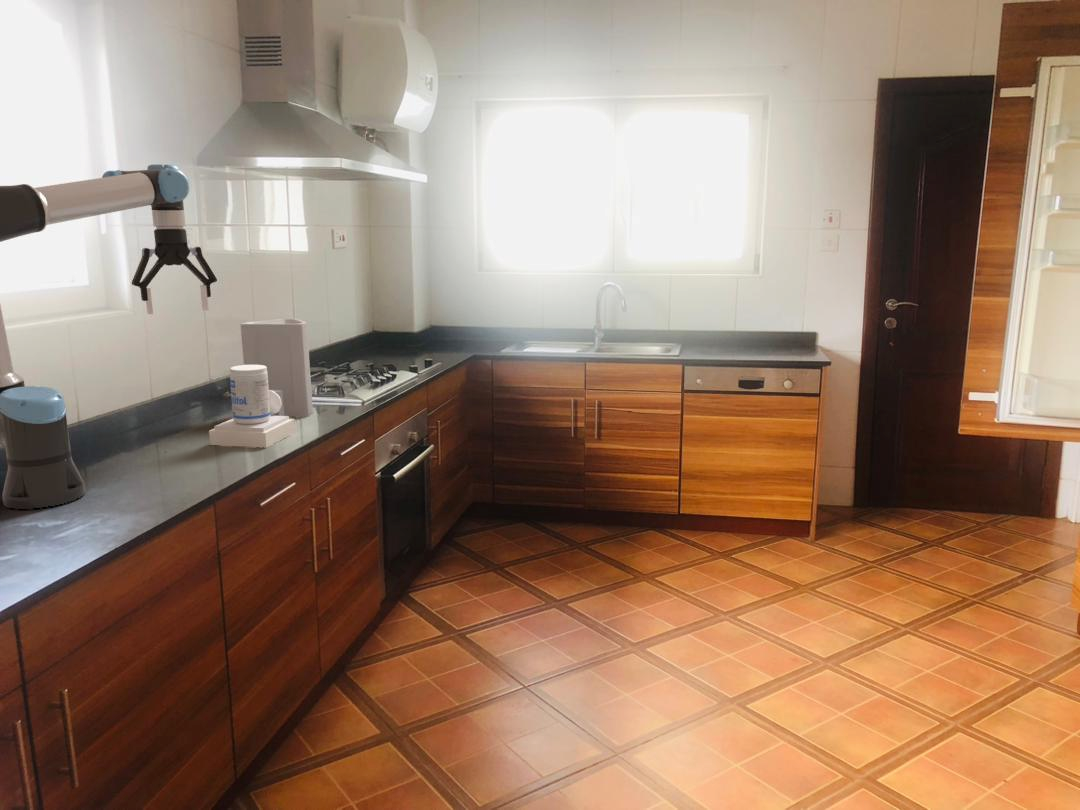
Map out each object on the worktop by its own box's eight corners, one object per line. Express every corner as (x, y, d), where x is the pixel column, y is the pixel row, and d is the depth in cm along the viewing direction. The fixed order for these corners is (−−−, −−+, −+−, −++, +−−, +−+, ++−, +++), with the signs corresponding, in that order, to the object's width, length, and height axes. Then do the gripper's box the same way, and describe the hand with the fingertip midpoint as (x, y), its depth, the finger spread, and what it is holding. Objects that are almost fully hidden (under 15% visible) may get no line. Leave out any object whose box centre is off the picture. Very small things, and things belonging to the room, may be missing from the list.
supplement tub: (225, 423, 221) (220, 369, 218) (248, 416, 230) (244, 363, 227) (256, 426, 218) (251, 370, 215) (278, 418, 227) (274, 365, 224)
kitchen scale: (266, 447, 216) (263, 404, 214) (210, 445, 219) (206, 402, 216) (303, 428, 236) (300, 388, 234) (251, 426, 239) (248, 387, 237)
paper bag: (325, 406, 265) (319, 318, 259) (307, 417, 250) (301, 324, 245) (268, 405, 267) (261, 318, 261) (247, 416, 253) (239, 324, 247)
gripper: (215, 227, 221) (222, 307, 226) (112, 228, 207) (122, 314, 211) (224, 227, 216) (231, 309, 220) (119, 228, 201) (129, 316, 205)
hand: (178, 312), depth 216 cm, fingers open, 13 cm apart
